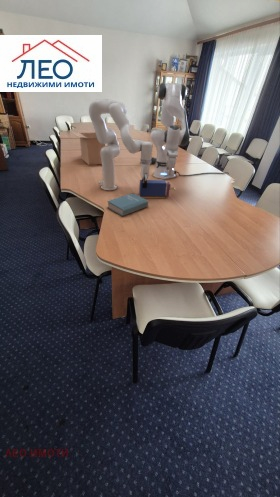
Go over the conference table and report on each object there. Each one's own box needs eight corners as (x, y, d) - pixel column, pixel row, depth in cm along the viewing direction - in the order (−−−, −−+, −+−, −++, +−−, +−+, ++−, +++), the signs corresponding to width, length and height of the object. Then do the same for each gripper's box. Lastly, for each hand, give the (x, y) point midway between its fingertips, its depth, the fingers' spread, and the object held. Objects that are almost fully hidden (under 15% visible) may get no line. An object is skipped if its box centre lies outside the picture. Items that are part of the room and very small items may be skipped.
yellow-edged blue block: (163, 194, 175) (165, 180, 168) (164, 198, 170) (166, 183, 163) (138, 194, 172) (139, 179, 165) (139, 197, 167) (140, 182, 160)
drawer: (173, 194, 175) (175, 182, 169) (174, 196, 171) (176, 184, 165) (144, 193, 172) (145, 181, 166) (145, 196, 168) (146, 183, 162)
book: (132, 199, 164) (132, 193, 161) (147, 207, 155) (148, 200, 152) (107, 207, 150) (107, 200, 147) (123, 216, 141) (123, 209, 138)
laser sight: (159, 165, 238) (161, 156, 232) (139, 163, 241) (140, 153, 235) (161, 163, 246) (162, 153, 240) (141, 161, 248) (141, 151, 242)
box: (116, 165, 229) (116, 136, 213) (83, 168, 214) (80, 137, 198) (102, 154, 259) (101, 128, 243) (71, 156, 244) (68, 129, 228)
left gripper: (139, 157, 161) (137, 181, 172) (142, 164, 147) (140, 190, 158) (149, 158, 162) (147, 182, 173) (153, 165, 148) (150, 190, 159)
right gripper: (164, 148, 165) (162, 167, 173) (169, 154, 148) (166, 175, 156) (172, 148, 165) (170, 167, 173) (178, 155, 149) (175, 175, 157)
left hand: (144, 185), depth 165 cm, fingers closed on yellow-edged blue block, 6 cm apart
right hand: (168, 171), depth 165 cm, fingers open, 8 cm apart
